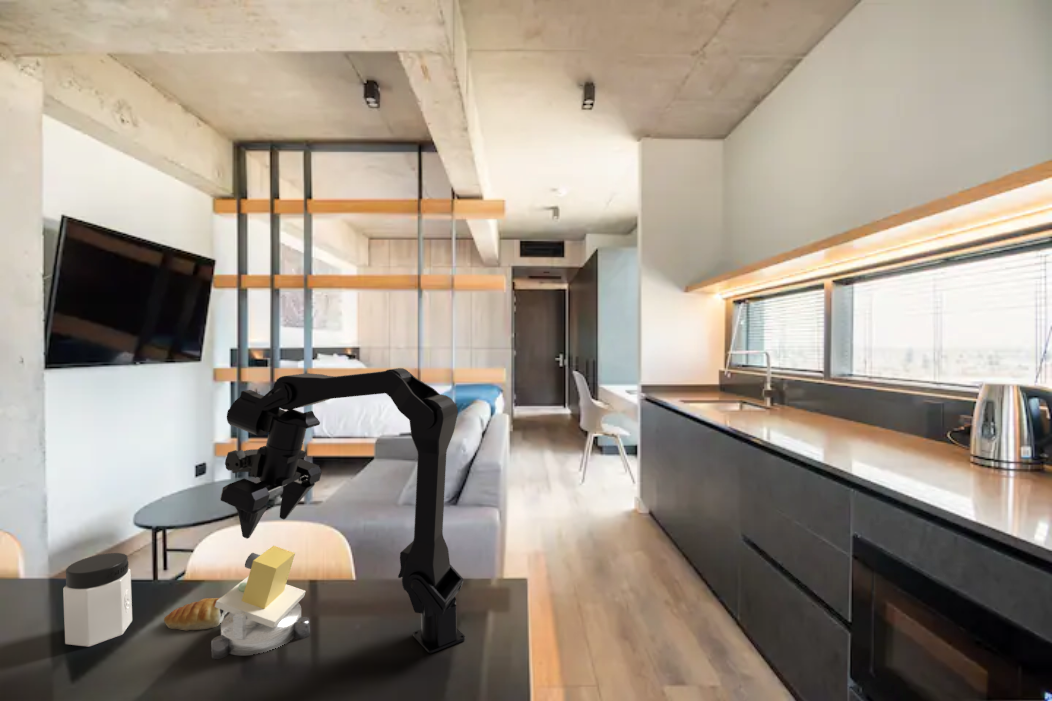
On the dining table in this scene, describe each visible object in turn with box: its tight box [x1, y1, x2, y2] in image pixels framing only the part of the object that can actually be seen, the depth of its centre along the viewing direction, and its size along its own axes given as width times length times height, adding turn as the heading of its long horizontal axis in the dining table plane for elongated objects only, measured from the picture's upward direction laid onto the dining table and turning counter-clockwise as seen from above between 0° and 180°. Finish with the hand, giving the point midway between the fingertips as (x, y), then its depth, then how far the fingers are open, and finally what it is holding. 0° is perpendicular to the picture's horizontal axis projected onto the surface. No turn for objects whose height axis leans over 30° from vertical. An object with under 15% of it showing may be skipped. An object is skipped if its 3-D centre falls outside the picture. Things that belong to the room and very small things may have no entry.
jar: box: [62, 552, 133, 647], centre depth 89 cm, size 9×8×12 cm
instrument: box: [215, 545, 306, 628], centre depth 88 cm, size 10×11×8 cm
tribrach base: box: [210, 602, 311, 660], centre depth 88 cm, size 14×14×6 cm
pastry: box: [163, 597, 228, 632], centre depth 93 cm, size 9×7×4 cm
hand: (265, 527), depth 93 cm, fingers open, 9 cm apart
